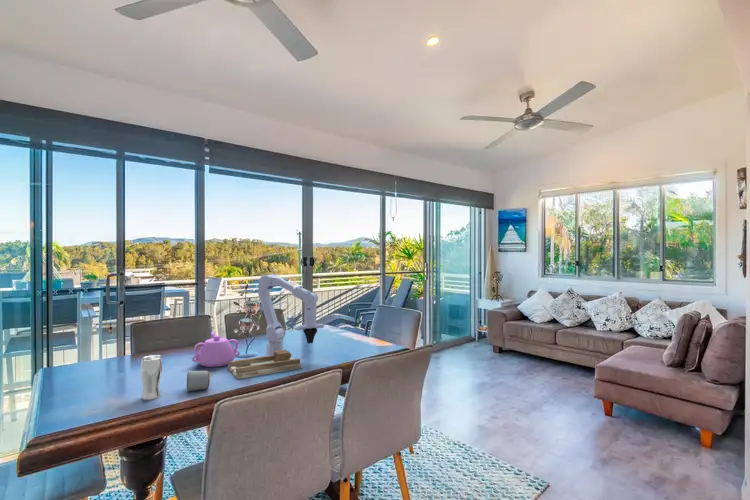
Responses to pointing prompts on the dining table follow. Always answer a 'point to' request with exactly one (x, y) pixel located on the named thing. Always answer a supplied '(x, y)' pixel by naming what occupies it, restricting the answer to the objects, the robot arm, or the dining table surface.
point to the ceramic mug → (197, 380)
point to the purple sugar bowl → (215, 351)
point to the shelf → (261, 366)
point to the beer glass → (151, 376)
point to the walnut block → (281, 355)
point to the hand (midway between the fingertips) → (309, 343)
